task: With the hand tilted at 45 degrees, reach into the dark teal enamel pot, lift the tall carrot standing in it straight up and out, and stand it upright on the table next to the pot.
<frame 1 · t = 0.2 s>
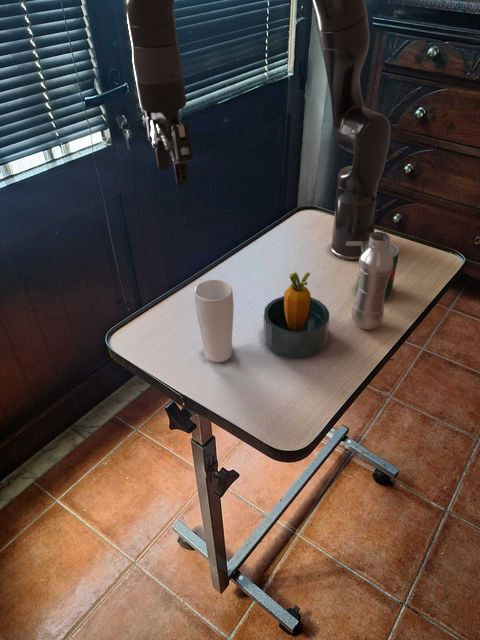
hand: (173, 175, 92), 29 cm above the table, tool pointing down, fingers open, 8 cm apart
pot: (295, 337, 103), on the table
canned tomato: (373, 292, 116), on the table
carrot: (295, 337, 103), resting in pot
drinking glass: (218, 355, 100), on the table
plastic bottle: (365, 324, 107), on the table
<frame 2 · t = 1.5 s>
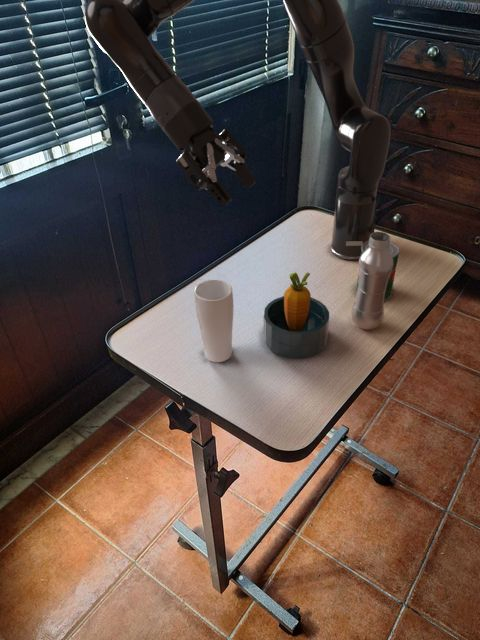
hand: (240, 194, 90), 28 cm above the table, tool tilted 45°, fingers open, 8 cm apart
nothing on the table moved.
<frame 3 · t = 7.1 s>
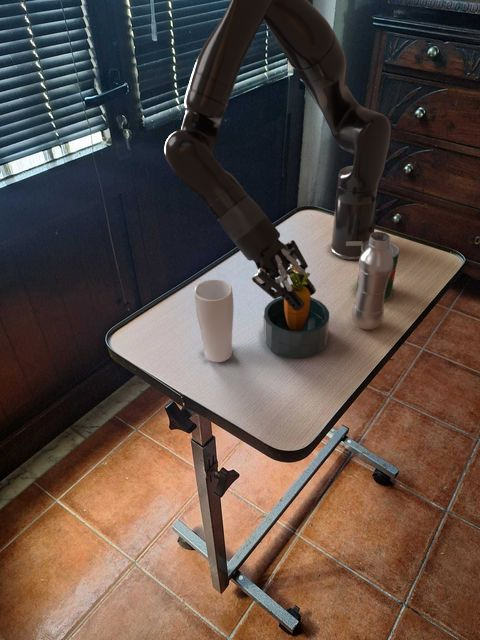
hand: (306, 300, 96), 10 cm above the table, tool tilted 45°, fingers closed on carrot, 4 cm apart
carrot: (295, 337, 103), resting in pot, touching gripper
everything else where it was.
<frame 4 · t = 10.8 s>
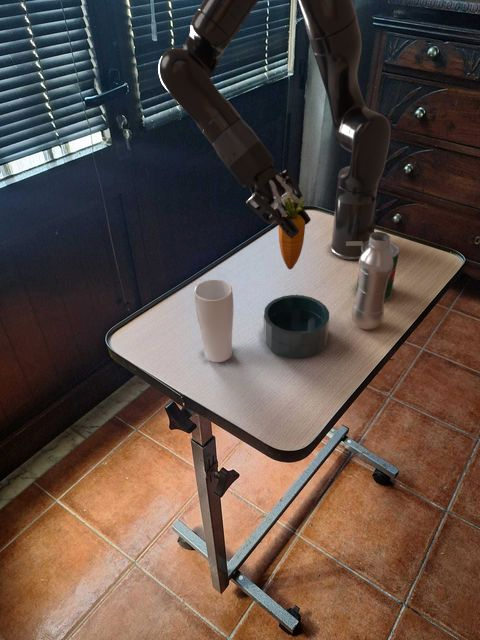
hand: (301, 228, 96), 20 cm above the table, tool tilted 45°, fingers closed on carrot, 4 cm apart
carrot: (290, 270, 103), point 10 cm above the table, touching gripper
everything else where it was.
when the fingers open (9 cm above the table, at t = 14.9 s): carrot stays where it is, on the table.
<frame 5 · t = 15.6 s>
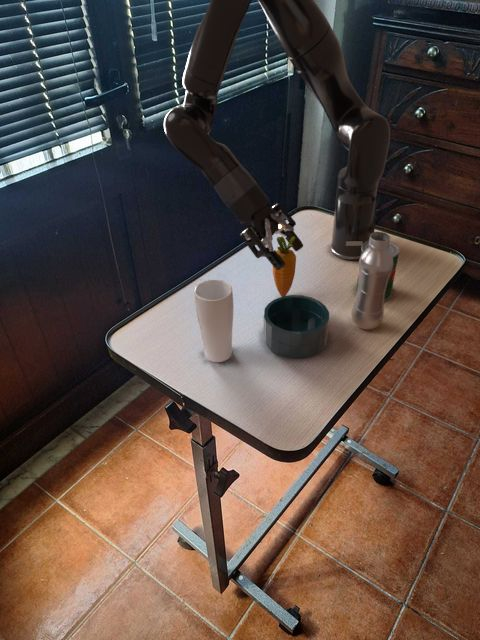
hand: (291, 257, 107), 10 cm above the table, tool tilted 45°, fingers open, 8 cm apart
carrot: (283, 297, 114), on the table
everything else where it was.
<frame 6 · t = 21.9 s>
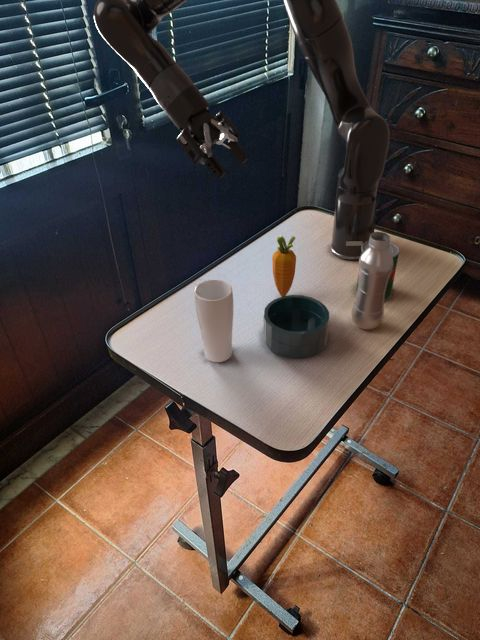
hand: (233, 168, 101), 27 cm above the table, tool tilted 45°, fingers open, 8 cm apart
nothing on the table moved.
at the end: carrot inside the target area (0.2 cm from its centre), on the table; carrot touching table; the gripper is holding nothing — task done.
